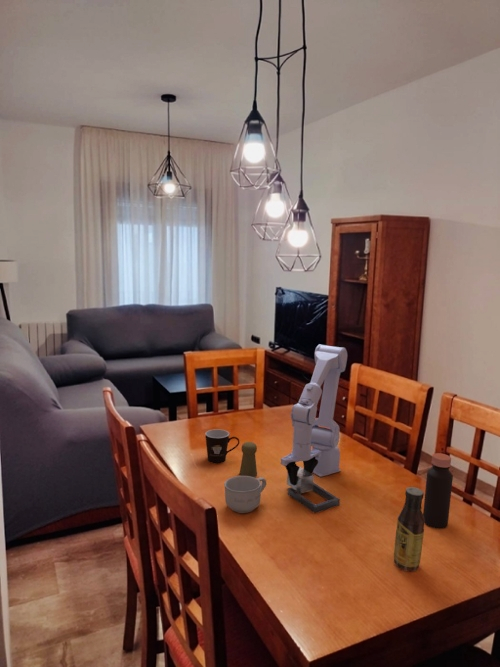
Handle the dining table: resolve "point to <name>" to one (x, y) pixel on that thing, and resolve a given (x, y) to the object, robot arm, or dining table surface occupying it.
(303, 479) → the block
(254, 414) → the dining table surface
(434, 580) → the dining table surface
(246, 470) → the olive pawn piece
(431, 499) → the dark water bottle
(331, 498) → the channel bracket
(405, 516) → the sauce bottle
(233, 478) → the teacup
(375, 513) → the dining table surface
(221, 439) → the coffee mug
